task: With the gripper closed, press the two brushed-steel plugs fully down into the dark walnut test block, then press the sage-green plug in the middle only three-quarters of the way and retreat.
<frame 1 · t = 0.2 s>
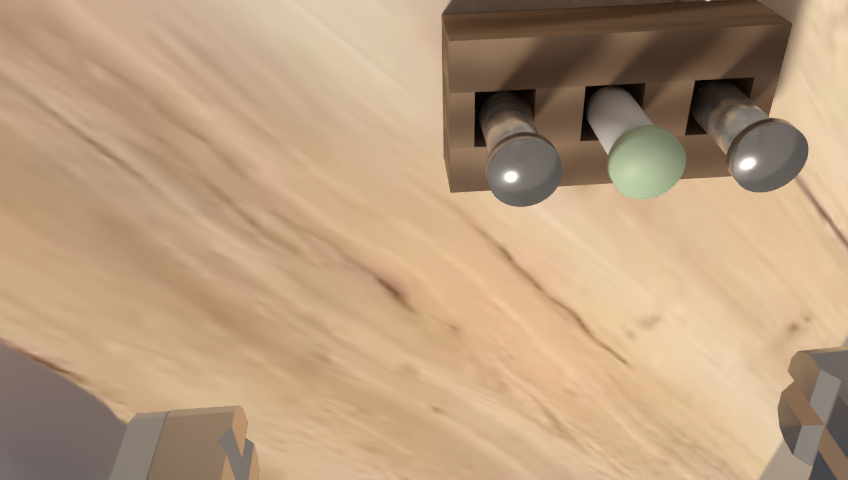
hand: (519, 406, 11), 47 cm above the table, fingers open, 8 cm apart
test block: (591, 81, 59), on the table
plug 1: (513, 142, 51), point 10 cm above the table, slide at 0.0 cm
plug 2: (740, 129, 51), point 10 cm above the table, slide at 0.0 cm
plug mid: (627, 135, 51), point 10 cm above the table, slide at 0.0 cm
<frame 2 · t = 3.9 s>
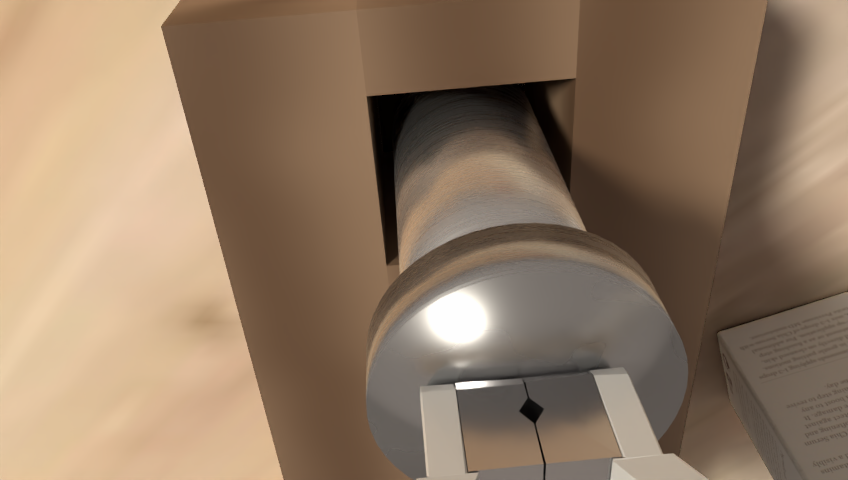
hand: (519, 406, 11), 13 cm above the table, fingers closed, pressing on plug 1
test block: (460, 292, 26), on the table
plug 1: (486, 232, 15), point 8 cm above the table, slide at 1.6 cm, touching gripper
skincare box: (795, 339, 29), on the table
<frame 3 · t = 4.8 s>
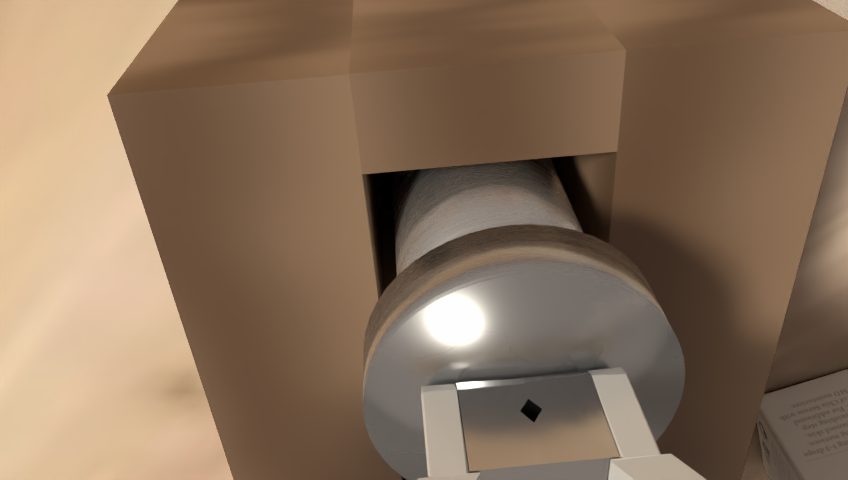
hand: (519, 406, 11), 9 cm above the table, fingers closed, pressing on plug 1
test block: (469, 358, 23), on the table
plug 1: (484, 233, 15), point 5 cm above the table, slide at 4.9 cm, touching gripper
skincare box: (838, 403, 26), on the table
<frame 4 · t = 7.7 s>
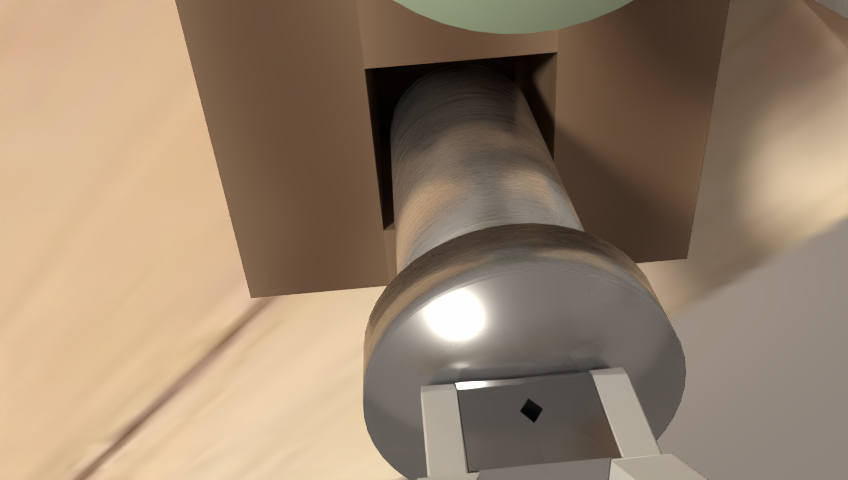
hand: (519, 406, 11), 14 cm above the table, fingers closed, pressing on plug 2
plug 2: (484, 232, 15), point 10 cm above the table, slide at 0.0 cm, touching gripper
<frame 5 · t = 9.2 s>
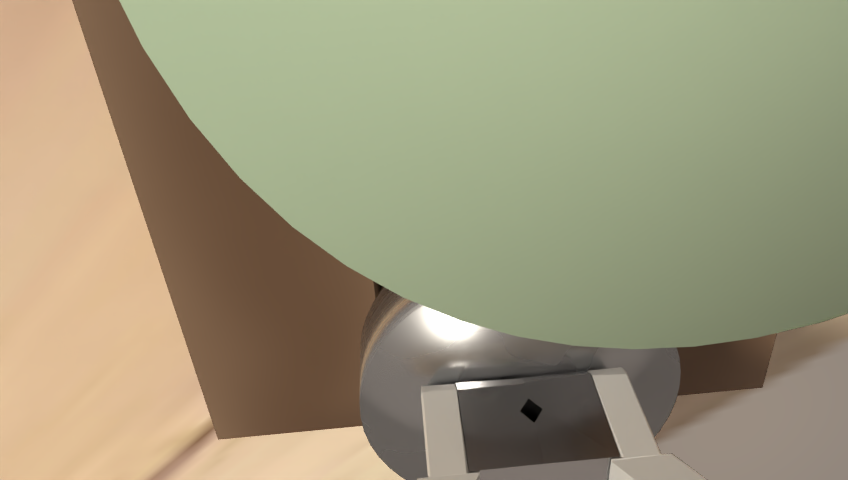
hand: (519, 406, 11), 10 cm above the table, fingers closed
plug 2: (480, 233, 15), point 5 cm above the table, slide at 4.9 cm
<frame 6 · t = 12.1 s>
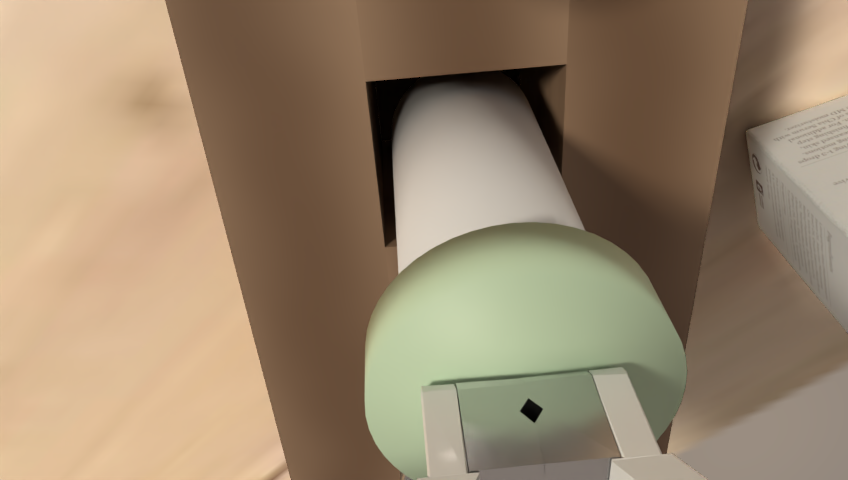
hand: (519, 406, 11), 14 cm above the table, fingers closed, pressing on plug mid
test block: (447, 68, 22), on the table
plug 2: (473, 374, 23), point 5 cm above the table, slide at 4.9 cm
plug mid: (485, 231, 15), point 9 cm above the table, slide at 0.8 cm, touching gripper
skincare box: (835, 146, 25), on the table
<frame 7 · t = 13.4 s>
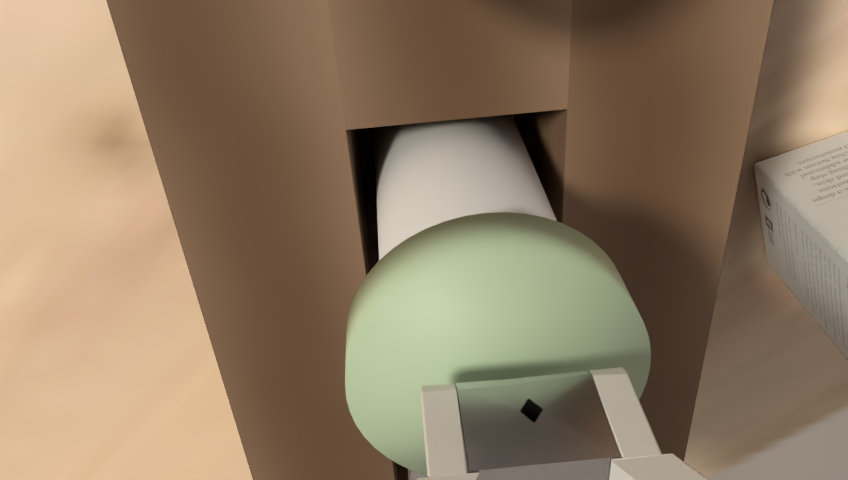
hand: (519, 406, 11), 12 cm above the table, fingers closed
test block: (436, 102, 21), on the table
plug 2: (467, 429, 21), point 5 cm above the table, slide at 4.9 cm
plug mid: (463, 225, 15), point 6 cm above the table, slide at 3.3 cm
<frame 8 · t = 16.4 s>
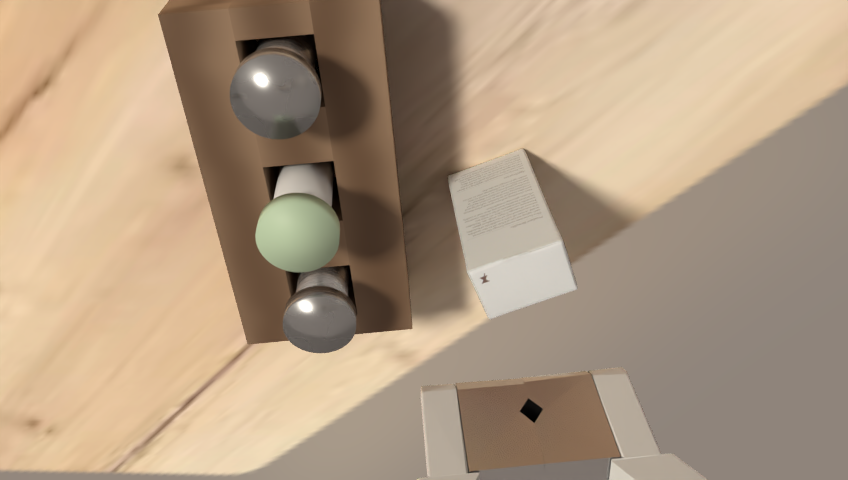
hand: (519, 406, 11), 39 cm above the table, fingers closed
test block: (309, 151, 52), on the table
plug 1: (283, 67, 43), point 5 cm above the table, slide at 4.9 cm
plug 2: (323, 283, 52), point 5 cm above the table, slide at 4.9 cm
plug mid: (303, 198, 46), point 6 cm above the table, slide at 3.3 cm
skincare box: (493, 182, 54), on the table
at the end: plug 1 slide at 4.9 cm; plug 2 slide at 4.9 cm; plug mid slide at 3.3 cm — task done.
